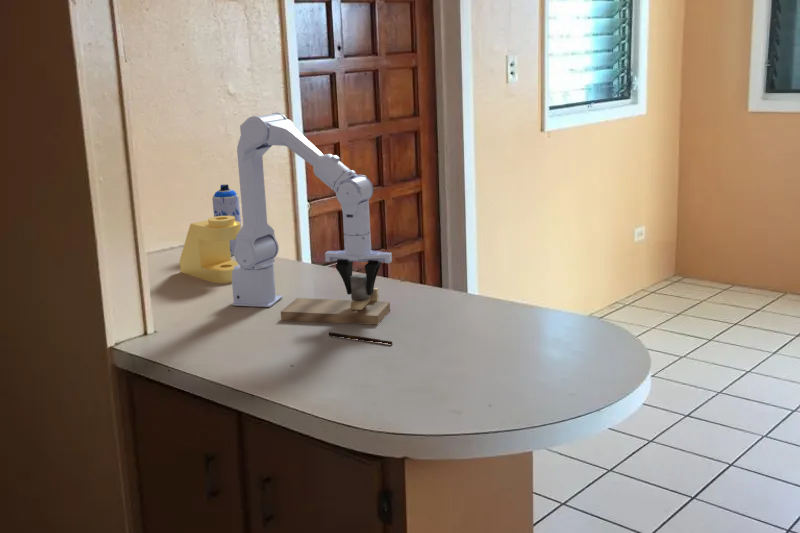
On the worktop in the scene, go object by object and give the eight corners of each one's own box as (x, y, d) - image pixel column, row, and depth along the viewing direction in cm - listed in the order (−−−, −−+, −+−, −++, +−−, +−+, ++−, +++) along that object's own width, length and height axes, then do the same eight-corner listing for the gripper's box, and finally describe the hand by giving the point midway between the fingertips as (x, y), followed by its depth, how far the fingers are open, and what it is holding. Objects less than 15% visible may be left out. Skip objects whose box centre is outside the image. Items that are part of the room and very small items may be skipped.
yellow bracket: (252, 277, 222) (247, 217, 218) (221, 285, 216) (215, 223, 212) (210, 265, 236) (204, 208, 232) (180, 272, 230) (174, 214, 226)
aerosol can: (248, 249, 253) (242, 182, 247) (238, 256, 245) (232, 187, 240) (223, 249, 254) (216, 182, 249) (212, 255, 247) (205, 187, 242)
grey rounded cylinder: (345, 316, 185) (343, 280, 183) (357, 303, 194) (355, 269, 192) (367, 317, 184) (365, 281, 182) (378, 304, 193) (377, 270, 190)
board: (281, 320, 187) (280, 311, 186) (297, 306, 196) (297, 297, 196) (377, 324, 181) (377, 315, 181) (390, 310, 191) (389, 301, 190)
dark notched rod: (327, 336, 176) (327, 332, 176) (328, 336, 176) (328, 331, 176) (391, 346, 169) (391, 341, 169) (392, 345, 169) (392, 341, 169)
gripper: (319, 236, 181) (322, 297, 185) (384, 237, 178) (387, 300, 181) (329, 229, 188) (333, 288, 192) (393, 230, 184) (395, 290, 188)
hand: (360, 293), depth 187 cm, fingers closed on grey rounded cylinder, 4 cm apart
